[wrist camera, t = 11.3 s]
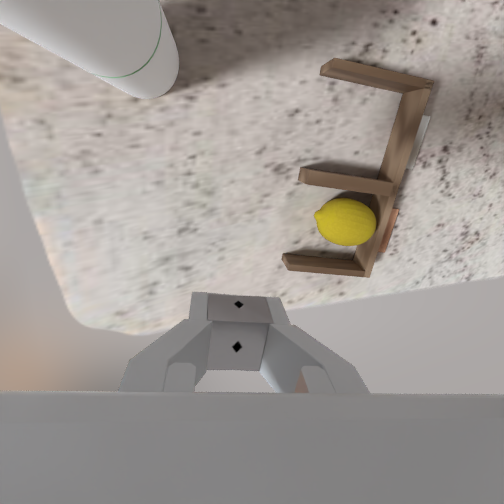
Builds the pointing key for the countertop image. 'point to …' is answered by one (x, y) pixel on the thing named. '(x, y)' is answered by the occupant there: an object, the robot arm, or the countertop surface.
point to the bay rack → (391, 172)
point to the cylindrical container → (103, 39)
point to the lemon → (345, 222)
